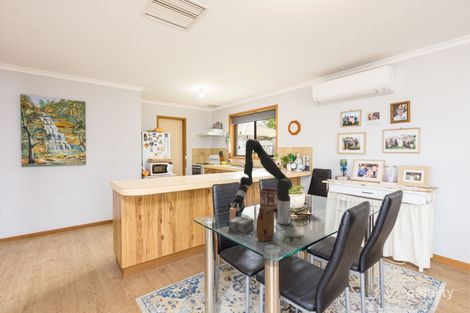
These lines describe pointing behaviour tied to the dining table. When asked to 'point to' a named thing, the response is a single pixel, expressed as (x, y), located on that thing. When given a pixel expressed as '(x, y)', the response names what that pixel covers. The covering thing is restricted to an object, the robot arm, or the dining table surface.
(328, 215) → the dining table surface
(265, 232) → the block
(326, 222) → the dining table surface
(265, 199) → the reddish brown crate
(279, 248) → the dining table surface
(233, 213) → the terracotta block
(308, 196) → the candy box
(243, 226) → the charcoal plinth
